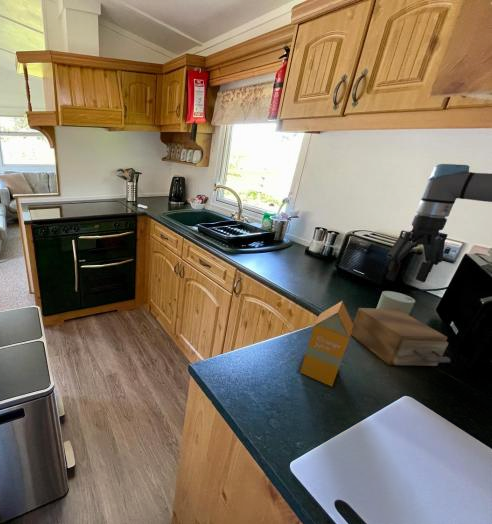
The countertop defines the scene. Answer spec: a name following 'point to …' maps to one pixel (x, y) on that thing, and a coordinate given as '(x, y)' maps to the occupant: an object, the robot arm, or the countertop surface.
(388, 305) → the can
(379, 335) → the cabinet
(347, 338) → the orange juice
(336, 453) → the countertop surface
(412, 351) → the drawer
